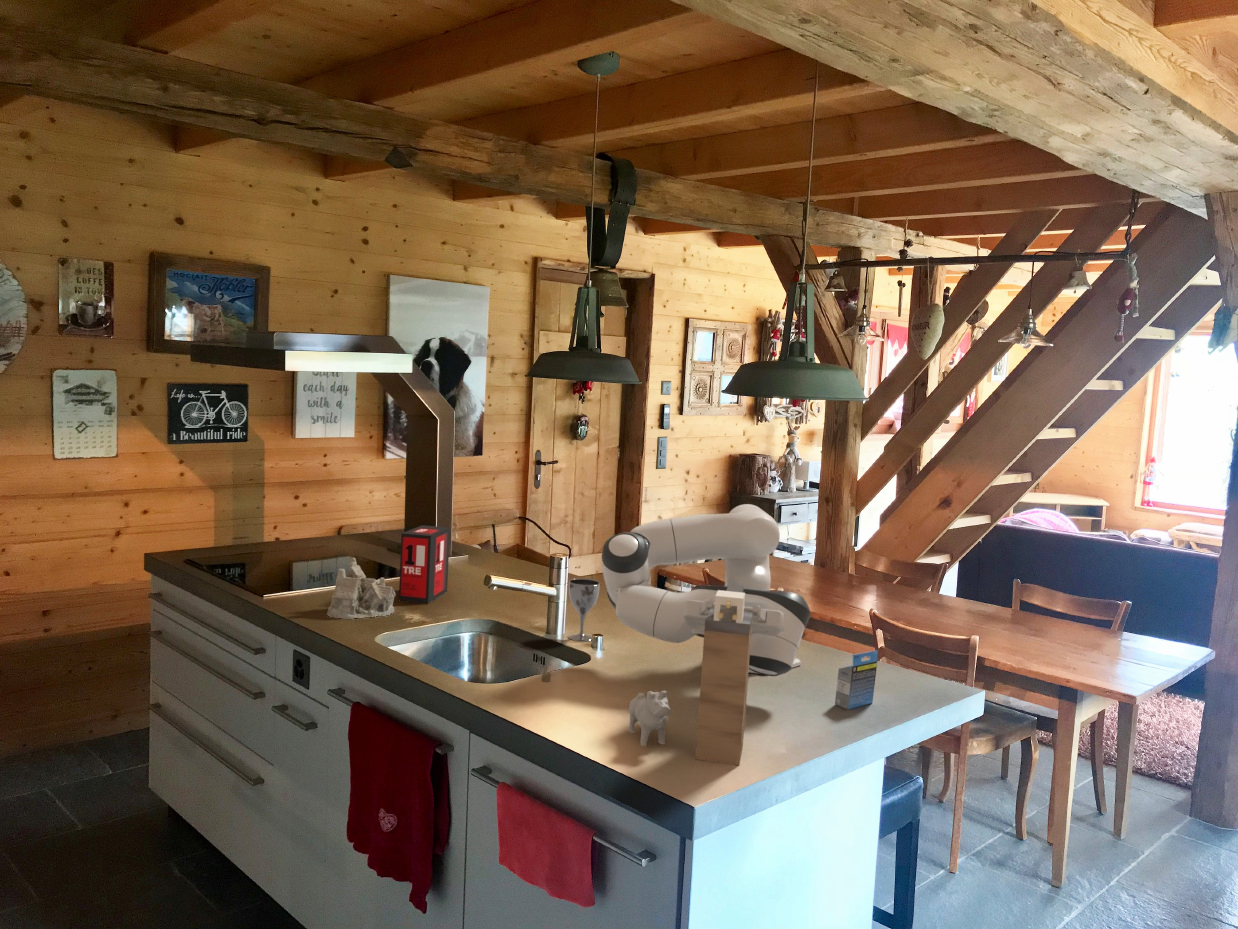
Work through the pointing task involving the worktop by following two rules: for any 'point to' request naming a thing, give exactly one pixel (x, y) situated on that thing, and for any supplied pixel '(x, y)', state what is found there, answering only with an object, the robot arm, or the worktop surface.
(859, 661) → the label tape box
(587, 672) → the worktop surface
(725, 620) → the plug
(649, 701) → the grey animal figure
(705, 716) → the stand
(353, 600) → the ceramic cottage
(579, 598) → the wine glass
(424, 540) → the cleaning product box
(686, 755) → the worktop surface
